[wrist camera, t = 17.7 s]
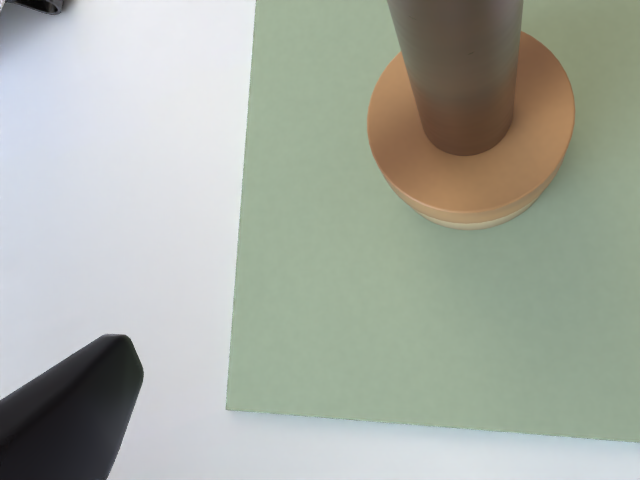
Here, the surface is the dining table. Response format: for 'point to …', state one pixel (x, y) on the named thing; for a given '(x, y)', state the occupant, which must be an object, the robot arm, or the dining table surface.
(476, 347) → the mat
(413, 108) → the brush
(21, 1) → the coffee press
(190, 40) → the dining table surface
